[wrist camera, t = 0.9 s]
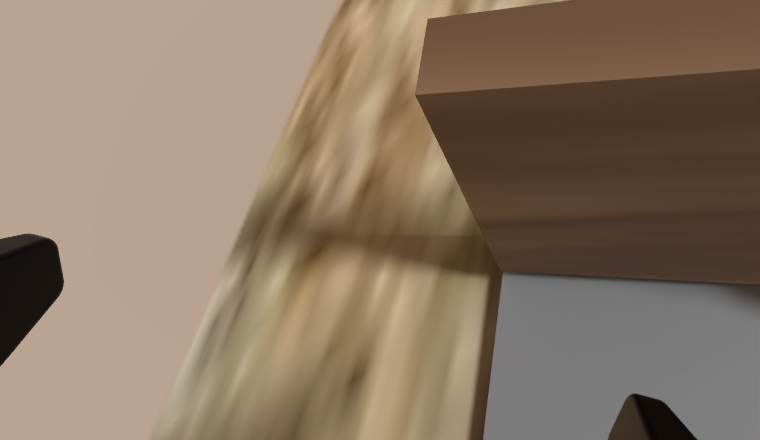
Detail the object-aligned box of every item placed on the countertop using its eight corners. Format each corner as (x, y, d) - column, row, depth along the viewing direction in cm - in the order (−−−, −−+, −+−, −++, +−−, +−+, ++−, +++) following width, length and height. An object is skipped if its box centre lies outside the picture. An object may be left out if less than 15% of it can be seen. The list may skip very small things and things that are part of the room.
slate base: (1104, 583, 10) (1130, 588, 10) (484, 450, 15) (480, 449, 14) (969, 12, 15) (982, -4, 15) (531, 46, 20) (530, 35, 19)
